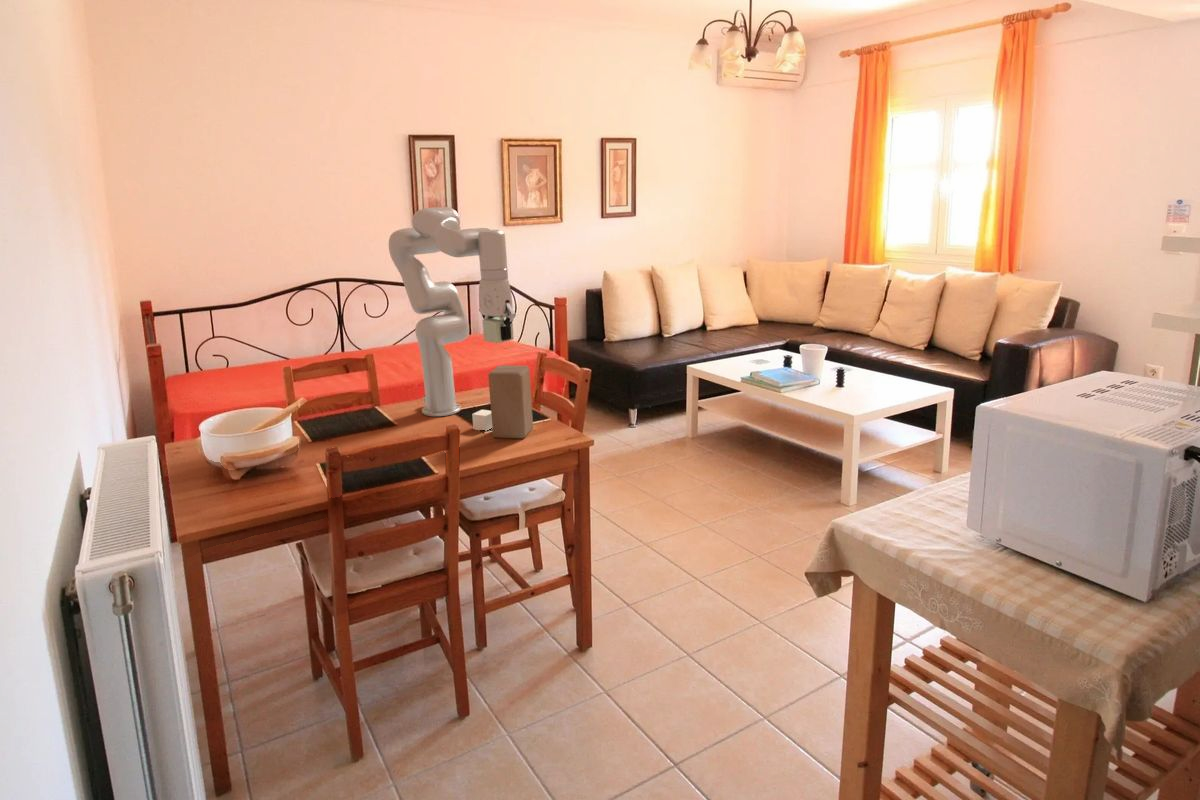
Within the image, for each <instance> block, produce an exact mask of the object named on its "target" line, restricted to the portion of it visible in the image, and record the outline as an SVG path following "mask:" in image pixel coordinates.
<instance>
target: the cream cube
mask: <svg viewBox="0 0 1200 800" xmlns="http://www.w3.org/2000/svg"><path fill="white" fill-rule="evenodd" d="M471 416H472V427H473V430H474V429H475V431H480V430H485V431H484V432H488V431H487V430H489V429H491V428H492V416H491V410H488V409H479V410H477V411H476V412H473V413H472V415H471ZM491 430H492V429H491ZM489 431H490V430H489Z"/></svg>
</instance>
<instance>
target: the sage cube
mask: <svg viewBox="0 0 1200 800" xmlns="http://www.w3.org/2000/svg"><path fill="white" fill-rule="evenodd" d="M505 320H506V317H505V318H504V321H505ZM513 323H514V322H513V321H512V325H510V326H511V339H509V340H504V341H503V340H501V328H500V327H501V326H502V324H501V321H500V318H499V317H495V318H490V319H485V320H484V319H482V329H483V341H485V342H489V343H493V344H500V343H504V342H509V341H514V324H513Z"/></svg>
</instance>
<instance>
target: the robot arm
mask: <svg viewBox="0 0 1200 800" xmlns="http://www.w3.org/2000/svg"><path fill="white" fill-rule="evenodd" d="M411 226H412V227H406V228H405V227H403V228H400V229H397V230H395V231H393V232H392V233H391V234H390V235H389V238H388V252H389V256H390V258H391V261H392V262H393V264H394V266H395V268H396V269H397V271H398V273H399V275H400V277H401V279H402V282H403V285H404V289H405V291H406V294H407V297H408V300H409V304H410V306H411V308H412V310H413V312H415V314H418V315H429V314H434V313H440V312H443V314H438V315H431V316H427V317H424V318H422V319H420V320H418V321H417V323H416V325H415V330H414V331H415V332H414V333H415V337H416V339H417V340H416V341H417V344H418V347H419V352H420V357H421V358H420V359H421V367H422V368H421V369H422V376H423V384H424V394H425V397H422V398H421V401H422V402H423V403H424V404H425V406H423V407H422V408H421V413H422V414H423V415H425V416H429V417H447V416H452V415H454V414H457V413H459V412H460V411H461V410H462V406H461V404H460V403H457V402H456V394H455V393H456V392H455V382H454V381H455V380H454V379H455V378H454V370H453V369H454V368H453V363H452V361H453V360H452V356H451V355H450V353H449V352H448V350H447V349H446V348H445V345H447V344H452V343H458V342H462V341H465V340H466V339H467V338H468V336H469V334H470V324H469V322H468V317H467V315H466V312H465V308H464V306H463V302H462V299H461V296H460V294H459V291H458V289H457V288H456V287H455V285H454V284H453V283H451V282H449V281H436V282H434V281H432V279H431V276H430V273H429V271H428V268H427V267H426V266H425V265H424V264H423V263H422V261H420V260H419V259H418V258H416V257H415V256H416V255H425V254H426V255H427V254H428V255H429V254H437V253H438V252H441V253H443V254H445V255H447V256H450V257H453V258H466V257H475V256H479V257H478V258H479V268H480V270H479V271H480V279H479V286H478V307H479V308H478V311H479V312H480V314H481V317H482V319H483V320H485V319H490V318H495V317H499V318H500V321H501V324H502V326H501V327H500V328H501V340H503V341H504V340H509V339H511V326H510V325H512V322H513V321H514V319H515V318H516V317H517V313H516V312H515V310H514V308H513V299H512V297H513V296H512V290H511V285H510V281H509V273H508V260H507V258H508V257H507V246H506V244H507V243H506V235H505V232H504V231H503V230H501V229H490V228H487V227H478V228H477V227H476V228H465V229H464V228H463V229H461V218H460V216H459V213H458V212H457V211H456V210H455V209H454V208H452V207H449V206H441V207H440V206H439V207H438V206H437V207H426V208H425V207H424V208H421V209H419V210H417V211H415V213H414V214H413V216H412V218H411ZM504 318H506V320H505V321H504ZM509 341H510V340H509Z"/></svg>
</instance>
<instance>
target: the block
mask: <svg viewBox="0 0 1200 800" xmlns="http://www.w3.org/2000/svg"><path fill="white" fill-rule="evenodd" d="M530 374H531V371H530V367H529V366H528V365H509V364H506V365H505V364H504V365H503V364H500V365H497V366H496V367H495V368H494V369H492V370H491V371H490V372H489V373H488V378H487V379H488V388H489V389H488V390H489V400H490V403H489V405H490V411H491V416H492V429H491V430H492V436H493V437H494V438H498V439H499V438H500V439H504V438H505V439H524V438H526V436H528V434H529V433H531V431H532V430H533V427H534V420H533V407H532V406H533V403H532V390H531V389H532V387H531V375H530Z"/></svg>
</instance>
